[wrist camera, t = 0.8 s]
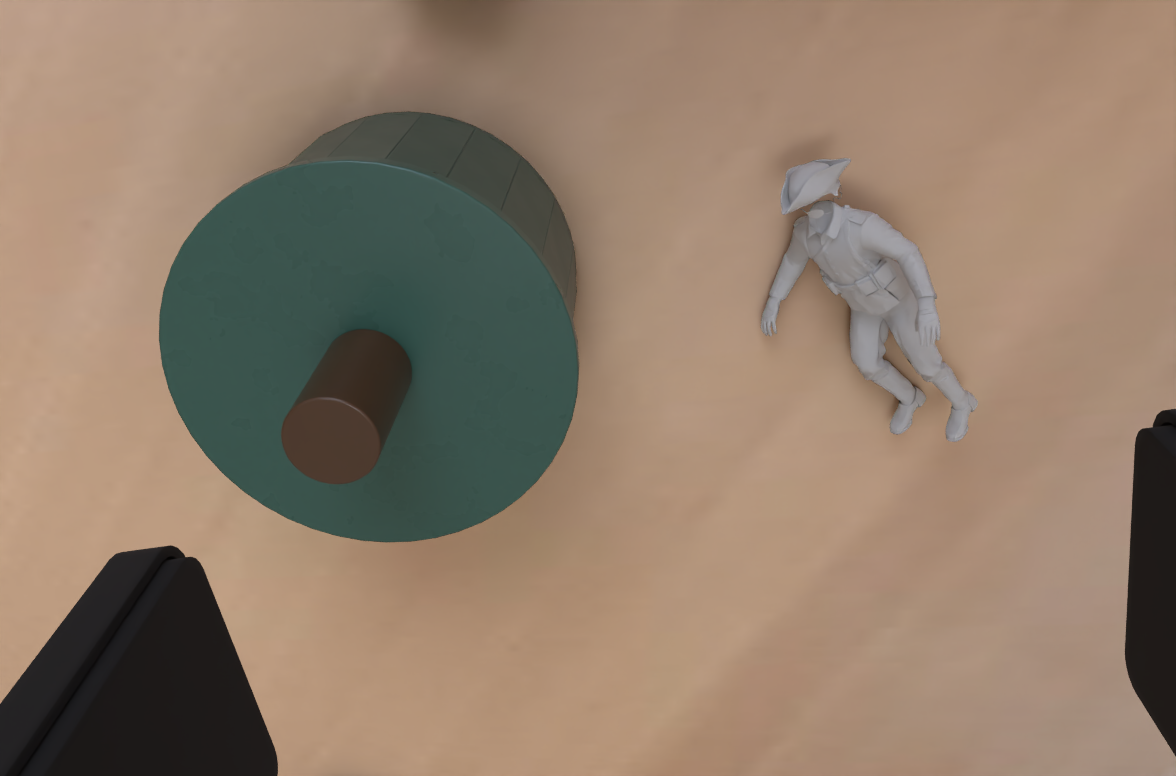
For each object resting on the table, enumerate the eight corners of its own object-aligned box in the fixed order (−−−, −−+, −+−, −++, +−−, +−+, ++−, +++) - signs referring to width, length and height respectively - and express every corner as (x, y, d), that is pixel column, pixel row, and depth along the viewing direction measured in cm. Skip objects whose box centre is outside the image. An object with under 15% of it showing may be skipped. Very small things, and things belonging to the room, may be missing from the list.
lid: (192, 98, 31) (103, 147, 26) (628, 216, 33) (628, 286, 27) (156, 472, 37) (76, 575, 32) (526, 561, 38) (509, 675, 33)
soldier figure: (831, 428, 46) (673, 259, 39) (872, 334, 47) (727, 155, 40) (1003, 451, 40) (854, 257, 33) (1044, 343, 41) (910, 135, 34)
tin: (285, 71, 39) (201, 123, 31) (613, 162, 40) (608, 233, 32) (245, 367, 44) (165, 472, 37) (534, 439, 45) (514, 557, 38)
